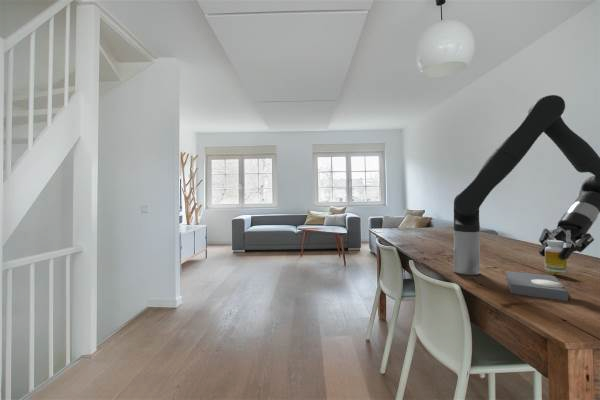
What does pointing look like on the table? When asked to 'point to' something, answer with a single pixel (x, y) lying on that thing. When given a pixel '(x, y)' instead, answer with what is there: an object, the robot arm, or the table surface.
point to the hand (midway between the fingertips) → (551, 256)
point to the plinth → (536, 285)
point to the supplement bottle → (554, 256)
